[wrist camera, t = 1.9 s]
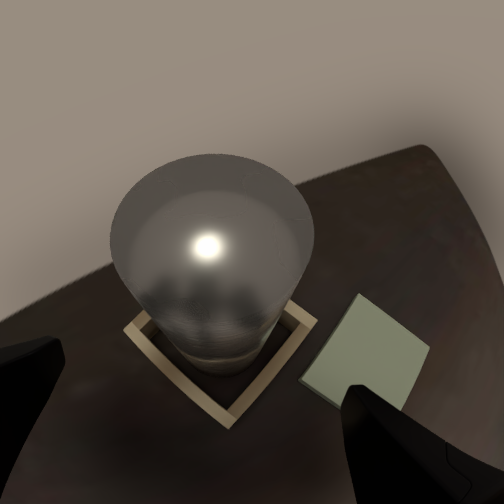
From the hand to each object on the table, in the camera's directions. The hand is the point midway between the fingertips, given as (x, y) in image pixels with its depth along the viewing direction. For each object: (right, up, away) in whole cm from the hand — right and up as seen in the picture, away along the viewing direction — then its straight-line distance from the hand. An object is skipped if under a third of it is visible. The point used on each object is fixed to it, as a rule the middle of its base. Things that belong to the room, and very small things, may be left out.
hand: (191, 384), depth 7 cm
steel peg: (-1, -2, +11) cm, 12 cm away
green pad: (+10, -5, +11) cm, 16 cm away
